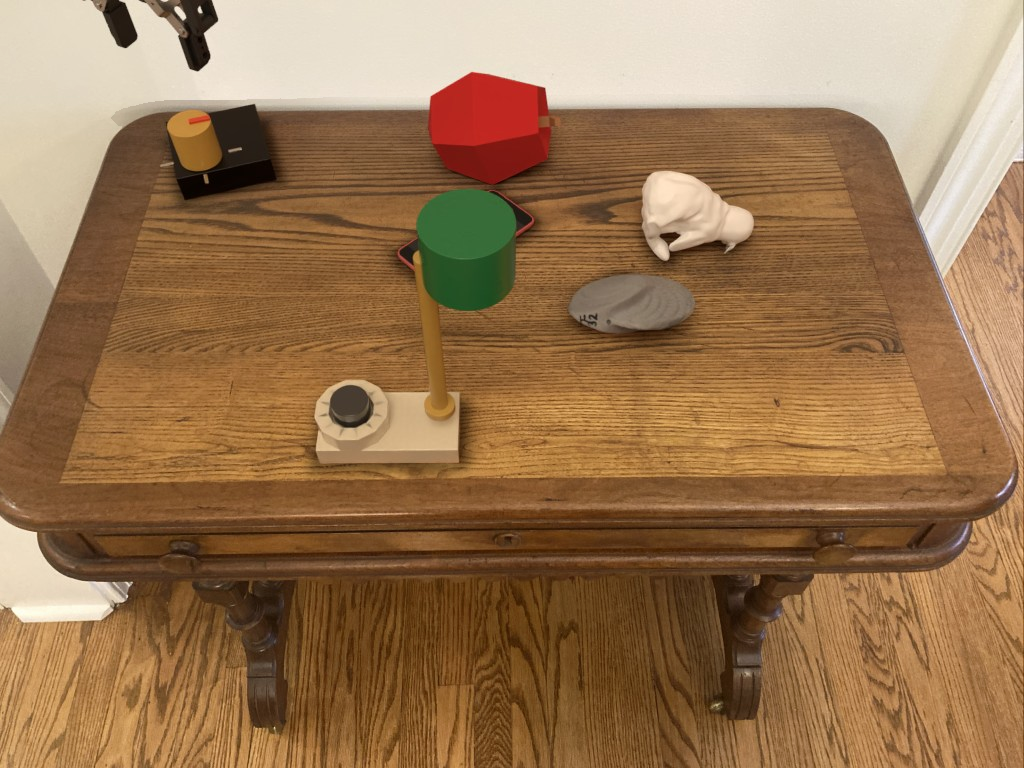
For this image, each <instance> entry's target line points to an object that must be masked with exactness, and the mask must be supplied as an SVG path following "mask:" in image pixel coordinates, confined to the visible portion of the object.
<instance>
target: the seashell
mask: <svg viewBox="0 0 1024 768" xmlns="http://www.w3.org/2000/svg"><path fill="white" fill-rule="evenodd" d="M695 308H696V300H695V296H694V295H693V293H692V292H691V291H690V289H688V288H687V287H685V285H683V284H682V283H679V281H676V280H674V279H671V278H666V277H664V276H659V275H653V274H640V273H629V274H628V273H627V274H625V273H623V274H617V275H611V276H607V277H604V278H600V279H597V280H594V281H591V282H589V283H587V284H585V285H583V286H582V287H580V288H579V289H578V290H577V291H576V292H574V294H573V296H572V297H571V299H570V301H569V303H568V305H567V312H568V314H569V315H570V316H571V317H572V318H574V319H575V320H576V321H577V322H579V323H580V324H582V326H583V325H584V326H586V327H588V328H590V329H594V330H595V331H599V332H602V333H605V334H614V335H623V334H631V333H635V332H638V331H655V330H659V331H660V330H665V329H670V328H673V327H675V326H678V325H680V324H681V323H684V321H685V320H686V319H688V318H689V317H691V315H693V313H694V310H695Z"/></svg>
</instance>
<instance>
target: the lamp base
mask: <svg viewBox="0 0 1024 768" xmlns="http://www.w3.org/2000/svg"><path fill="white" fill-rule="evenodd" d="M346 385H356V386H359V387H361V388H363V389H364V390H365V391H366V393H367V395H368V398H369V402H370V407H371V413H370V416H369V418H368V419H367V420H366V421H365V422H364V423H363V424H361V425H359V426H356V427H344V426H341V425H340V424H338V423H337V422H336V421H335V419H334V417H333V414H332V410H331V407H330V398H331V396H332V394H333V393H334V392H335V391H336V390H337V389H339V388H340V387H343V386H346ZM447 393H449V394H450V395H452V396H453V398H454V400H455V412H454V414H453V415H452V416H451V417H450V418H449V419H447V420H444V421H435V420H432V419H430V418H429V417H428V416H427V415H426V413H425V408H424V402H425V399H426V398H427V397H428V396H429V395H430V391H392V392H391V391H387V392H386V391H383V390H382V389H381V387H380V386H377V385H375V384H373V383H371V382H369V381H368V380H366V379H345V380H341V381H340V382H338V383H335V384H333V385H331V386H328V388H327V389H326V390H325V391H323V393H322V394H321V395H320V397H319V398H318V399H316V401H315V402H316V403H315V408H314V415H313V416H314V421H315V425H316V427H317V437H316V443H315V453H316V457H317V459H318V462H319V464H458V463H460V447H461V446H460V445H461V444H460V442H461V412H462V411H461V410H462V409H461V408H462V403H461V393H460V391H447Z"/></svg>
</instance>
